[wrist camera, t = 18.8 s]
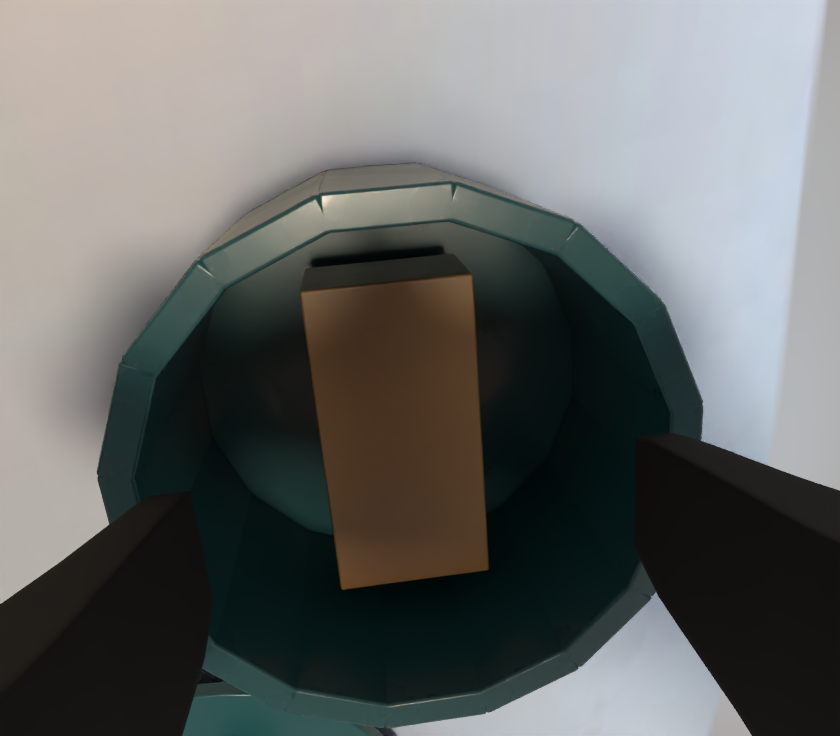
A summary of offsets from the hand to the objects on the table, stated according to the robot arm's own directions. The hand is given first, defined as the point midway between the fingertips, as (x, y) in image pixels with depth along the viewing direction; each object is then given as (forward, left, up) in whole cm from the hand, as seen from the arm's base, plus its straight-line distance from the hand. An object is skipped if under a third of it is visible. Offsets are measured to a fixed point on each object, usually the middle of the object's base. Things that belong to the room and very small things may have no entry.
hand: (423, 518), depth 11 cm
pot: (0, 0, -7) cm, 7 cm away
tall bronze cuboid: (0, 0, -6) cm, 6 cm away
